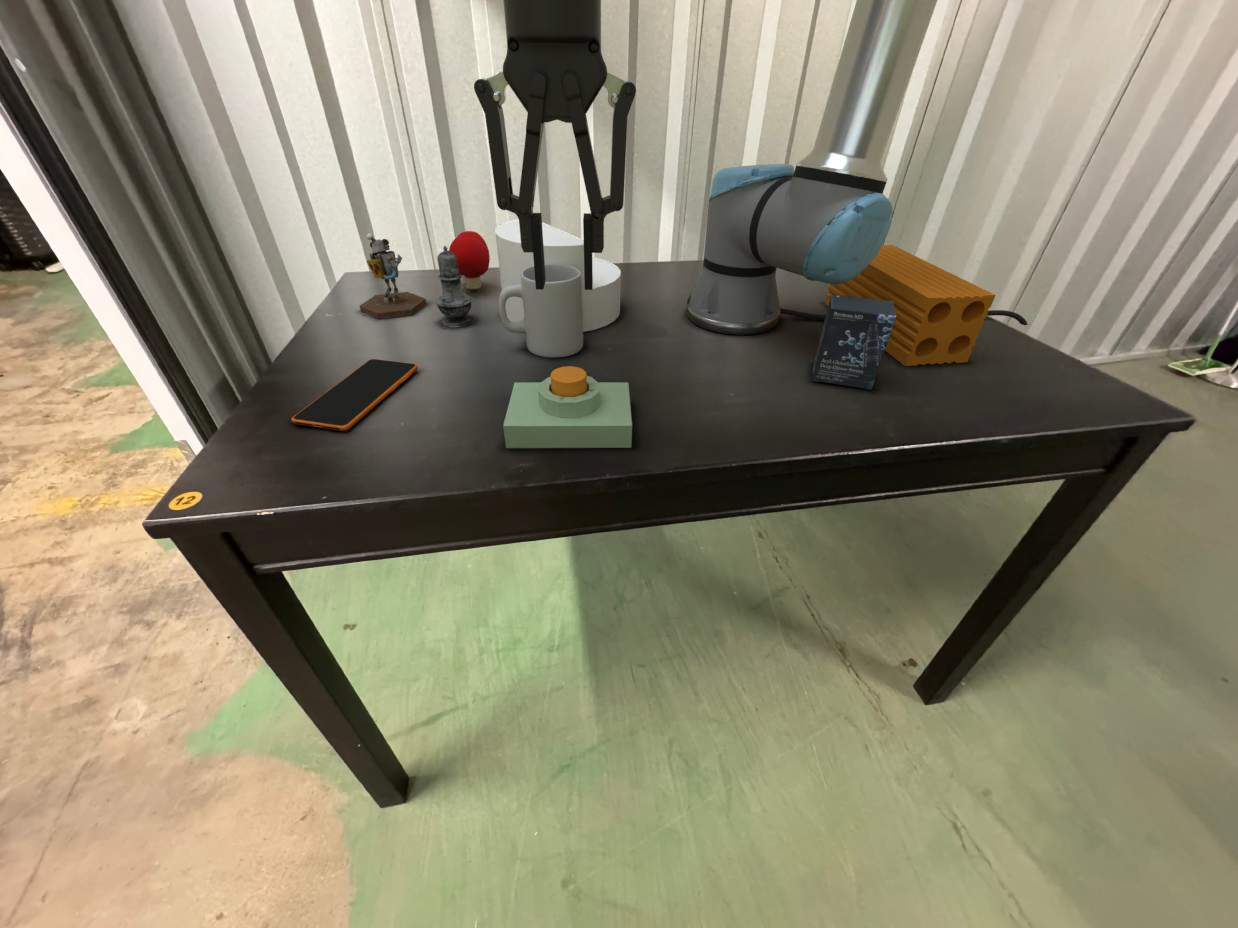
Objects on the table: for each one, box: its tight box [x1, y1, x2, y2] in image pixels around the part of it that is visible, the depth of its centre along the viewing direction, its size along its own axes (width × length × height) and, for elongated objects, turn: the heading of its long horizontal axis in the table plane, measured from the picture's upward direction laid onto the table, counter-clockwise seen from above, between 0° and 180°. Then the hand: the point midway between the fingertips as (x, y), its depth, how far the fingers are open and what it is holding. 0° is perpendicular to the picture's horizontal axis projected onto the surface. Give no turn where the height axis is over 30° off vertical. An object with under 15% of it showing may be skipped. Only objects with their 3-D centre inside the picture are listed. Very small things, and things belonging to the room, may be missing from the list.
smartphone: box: [290, 358, 419, 431], centre depth 70 cm, size 8×17×1 cm, turn 167°
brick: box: [824, 244, 997, 367], centre depth 87 cm, size 26×10×10 cm, turn 9°
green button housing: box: [502, 375, 633, 449], centre depth 64 cm, size 14×10×5 cm
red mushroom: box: [448, 230, 491, 292], centre depth 100 cm, size 9×7×10 cm
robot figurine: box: [359, 233, 427, 320], centre depth 91 cm, size 11×9×12 cm
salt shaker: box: [434, 245, 475, 329], centre depth 87 cm, size 6×6×12 cm
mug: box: [498, 264, 584, 359], centre depth 80 cm, size 12×8×11 cm
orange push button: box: [550, 365, 588, 397], centre depth 62 cm, size 4×4×2 cm
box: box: [812, 294, 896, 391], centre depth 73 cm, size 8×6×11 cm
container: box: [494, 218, 622, 333], centre depth 91 cm, size 20×20×13 cm
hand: (564, 284), depth 56 cm, fingers open, 4 cm apart
